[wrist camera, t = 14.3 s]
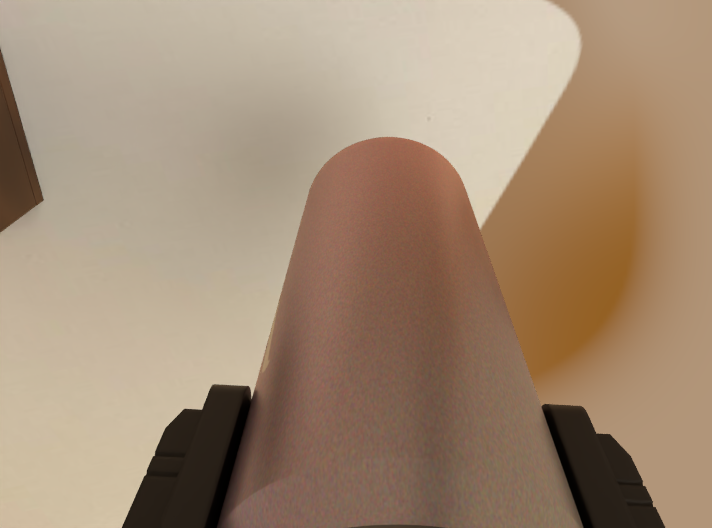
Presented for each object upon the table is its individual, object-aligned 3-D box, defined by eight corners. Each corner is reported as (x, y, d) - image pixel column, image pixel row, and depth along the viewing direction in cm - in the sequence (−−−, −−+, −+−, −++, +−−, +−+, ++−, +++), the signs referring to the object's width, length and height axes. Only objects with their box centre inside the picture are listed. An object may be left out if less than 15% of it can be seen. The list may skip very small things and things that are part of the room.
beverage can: (454, 277, 22) (561, 758, 9) (308, 269, 22) (210, 737, 9) (477, 134, 19) (693, 561, 6) (308, 126, 19) (155, 527, 6)
